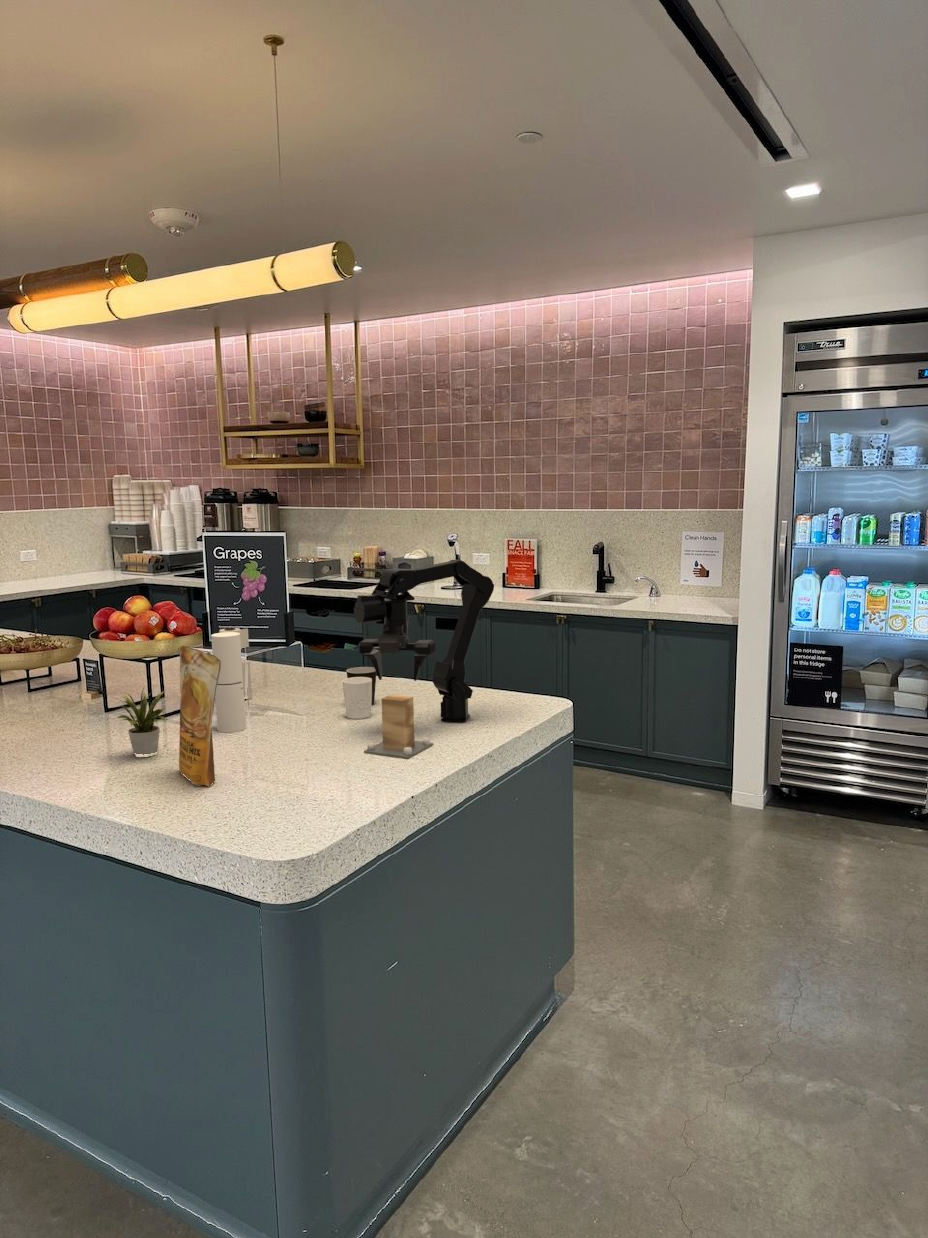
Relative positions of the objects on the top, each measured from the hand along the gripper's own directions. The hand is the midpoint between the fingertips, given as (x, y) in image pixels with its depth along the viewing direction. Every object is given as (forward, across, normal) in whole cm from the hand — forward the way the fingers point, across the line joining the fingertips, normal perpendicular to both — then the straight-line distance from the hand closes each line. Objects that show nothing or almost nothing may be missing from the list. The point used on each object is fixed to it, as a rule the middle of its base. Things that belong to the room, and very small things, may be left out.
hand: (397, 680), depth 229 cm
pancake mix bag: (+13, -33, -42) cm, 55 cm away
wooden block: (+12, +4, -16) cm, 21 cm away
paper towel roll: (+13, -57, +24) cm, 63 cm away
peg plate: (+13, +4, -16) cm, 21 cm away
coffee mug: (+13, -18, +26) cm, 34 cm away
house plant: (+13, -55, -30) cm, 64 cm away
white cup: (+13, -15, +12) cm, 23 cm away
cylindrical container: (+13, -44, -5) cm, 46 cm away
